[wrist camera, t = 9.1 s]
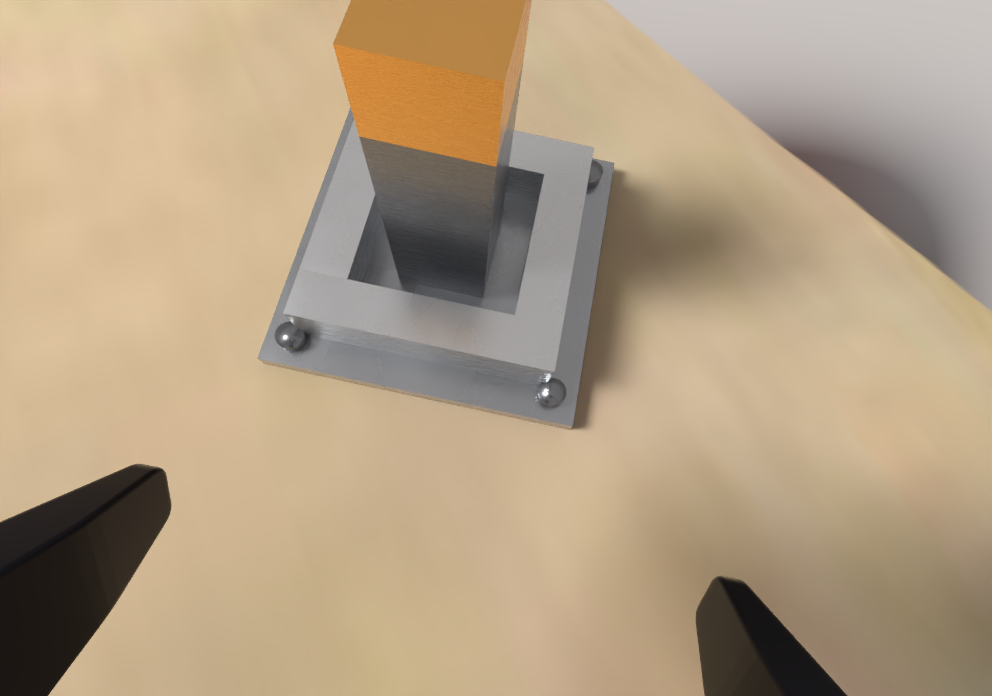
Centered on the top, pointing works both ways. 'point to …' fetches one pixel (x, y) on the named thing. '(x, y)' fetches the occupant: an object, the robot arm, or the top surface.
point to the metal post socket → (449, 315)
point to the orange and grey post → (436, 126)
